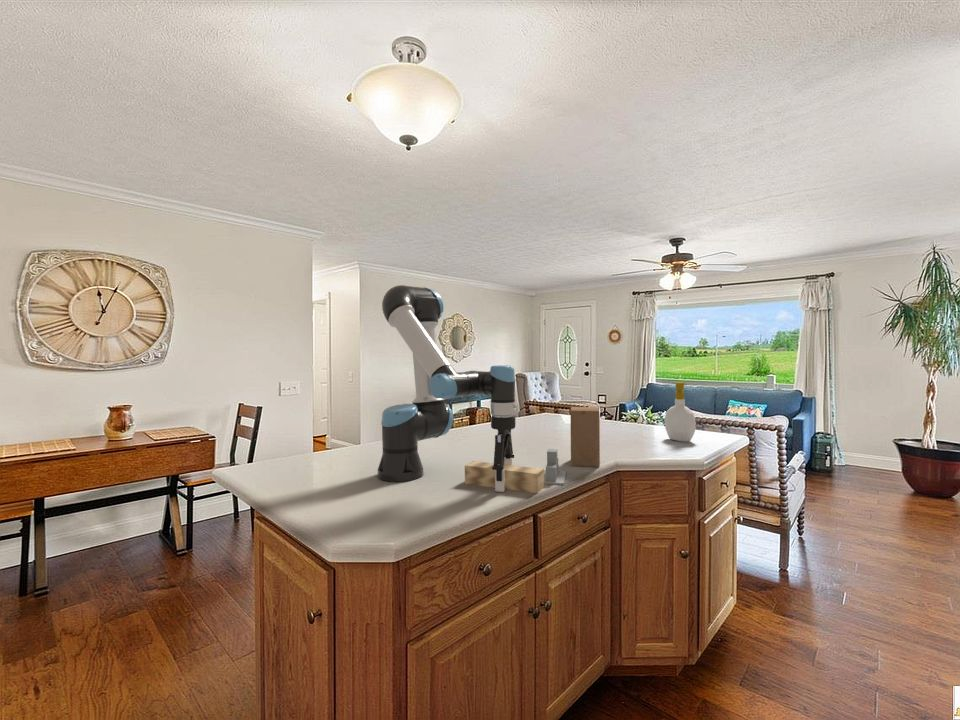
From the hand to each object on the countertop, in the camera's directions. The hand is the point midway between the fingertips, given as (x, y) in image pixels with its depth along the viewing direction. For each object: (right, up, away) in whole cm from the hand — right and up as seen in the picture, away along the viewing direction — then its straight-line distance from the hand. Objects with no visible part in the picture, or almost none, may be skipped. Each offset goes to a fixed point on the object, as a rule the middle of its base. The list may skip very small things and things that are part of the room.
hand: (504, 484), depth 142 cm
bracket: (+16, 0, +7) cm, 18 cm away
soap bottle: (+82, +2, +63) cm, 104 cm away
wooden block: (+31, +1, +25) cm, 40 cm away
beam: (0, 0, 0) cm, 0 cm away
